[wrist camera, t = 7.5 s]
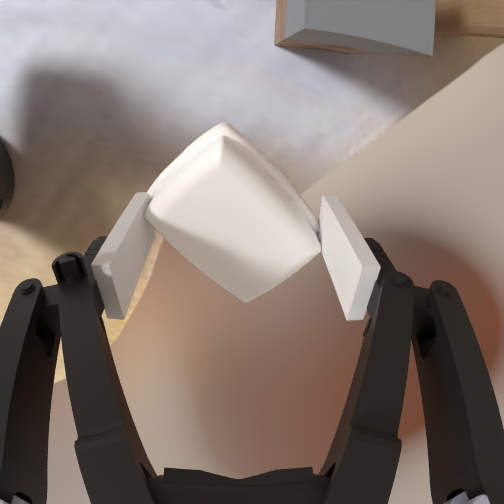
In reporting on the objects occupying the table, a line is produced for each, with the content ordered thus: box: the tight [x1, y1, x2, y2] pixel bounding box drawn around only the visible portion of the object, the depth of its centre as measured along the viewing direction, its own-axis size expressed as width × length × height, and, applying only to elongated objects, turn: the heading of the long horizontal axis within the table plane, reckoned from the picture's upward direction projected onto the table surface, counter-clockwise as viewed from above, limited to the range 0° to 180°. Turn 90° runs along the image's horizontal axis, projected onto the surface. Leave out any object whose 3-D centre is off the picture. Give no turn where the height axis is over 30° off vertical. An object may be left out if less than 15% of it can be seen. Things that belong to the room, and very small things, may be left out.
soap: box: [144, 123, 321, 302], centre depth 17 cm, size 9×7×3 cm
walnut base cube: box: [275, 0, 380, 54], centre depth 25 cm, size 9×9×9 cm
